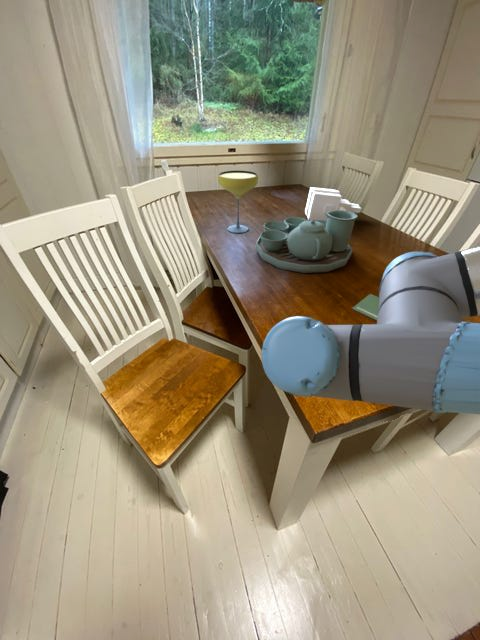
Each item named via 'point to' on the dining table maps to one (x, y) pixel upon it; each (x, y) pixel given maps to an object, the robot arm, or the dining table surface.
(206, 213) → the dining table surface
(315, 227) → the tea set
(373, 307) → the cloth
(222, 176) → the cocktail glass
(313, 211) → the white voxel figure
